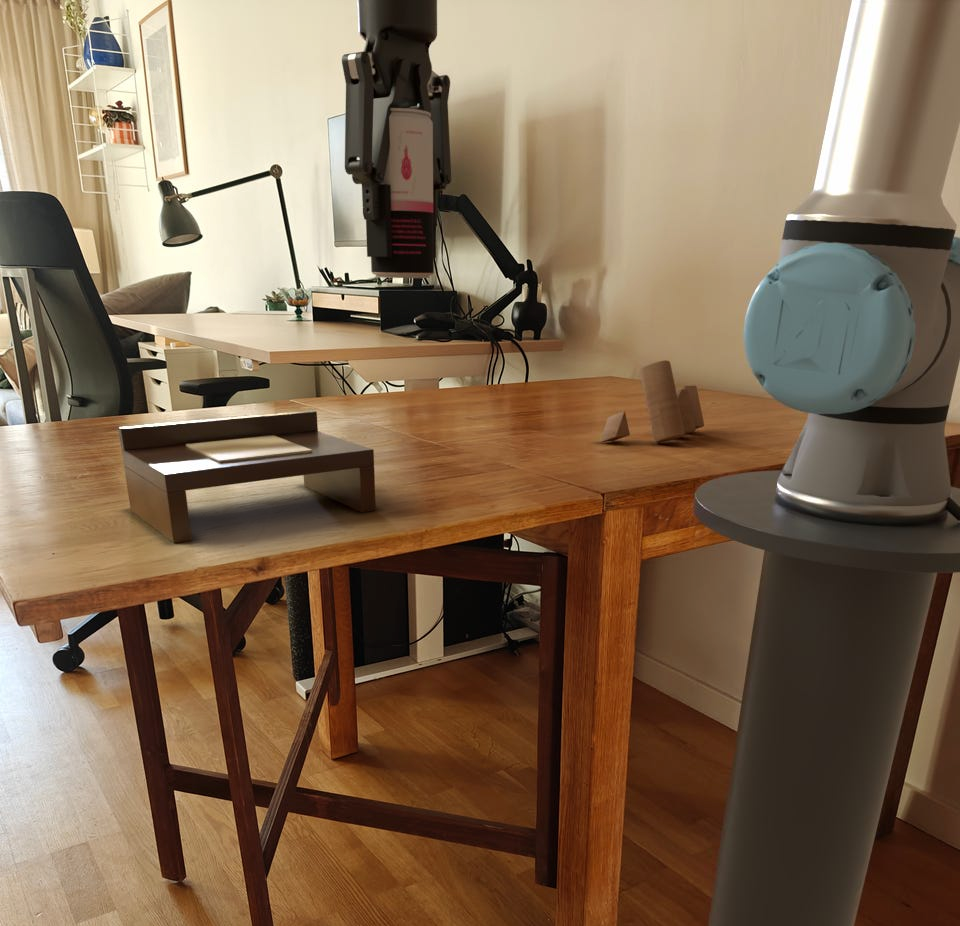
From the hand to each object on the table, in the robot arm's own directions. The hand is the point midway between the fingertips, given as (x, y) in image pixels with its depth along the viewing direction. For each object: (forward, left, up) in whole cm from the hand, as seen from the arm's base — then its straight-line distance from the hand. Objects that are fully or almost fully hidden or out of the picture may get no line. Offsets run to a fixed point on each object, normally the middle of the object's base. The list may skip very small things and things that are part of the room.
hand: (402, 257), depth 90 cm
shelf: (-5, +21, -23) cm, 31 cm away
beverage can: (0, 0, -2) cm, 2 cm away
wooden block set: (0, -42, -23) cm, 48 cm away
